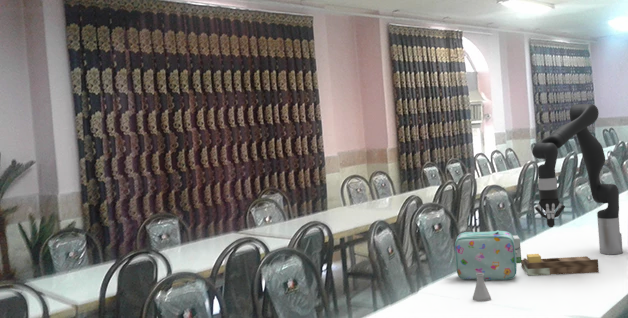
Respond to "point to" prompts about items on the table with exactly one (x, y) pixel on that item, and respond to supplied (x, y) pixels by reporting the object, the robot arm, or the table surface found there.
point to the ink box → (517, 248)
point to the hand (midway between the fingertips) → (551, 226)
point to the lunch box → (486, 255)
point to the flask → (481, 289)
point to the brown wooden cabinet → (561, 266)
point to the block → (533, 258)
